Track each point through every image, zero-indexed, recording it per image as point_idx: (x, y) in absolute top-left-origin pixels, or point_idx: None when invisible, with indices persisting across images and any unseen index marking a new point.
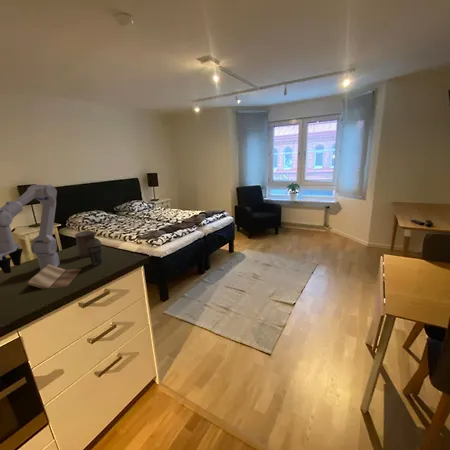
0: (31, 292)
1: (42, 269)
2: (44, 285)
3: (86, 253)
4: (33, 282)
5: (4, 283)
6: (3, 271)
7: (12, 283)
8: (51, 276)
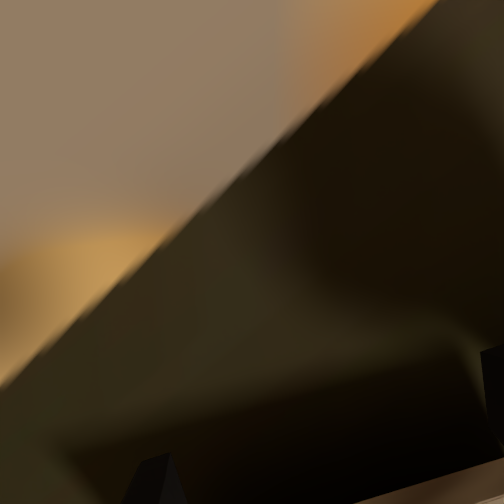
0: None
1: (489, 500)
2: None
3: None
4: None
5: (363, 63)
6: (126, 500)
7: (356, 161)
8: None
